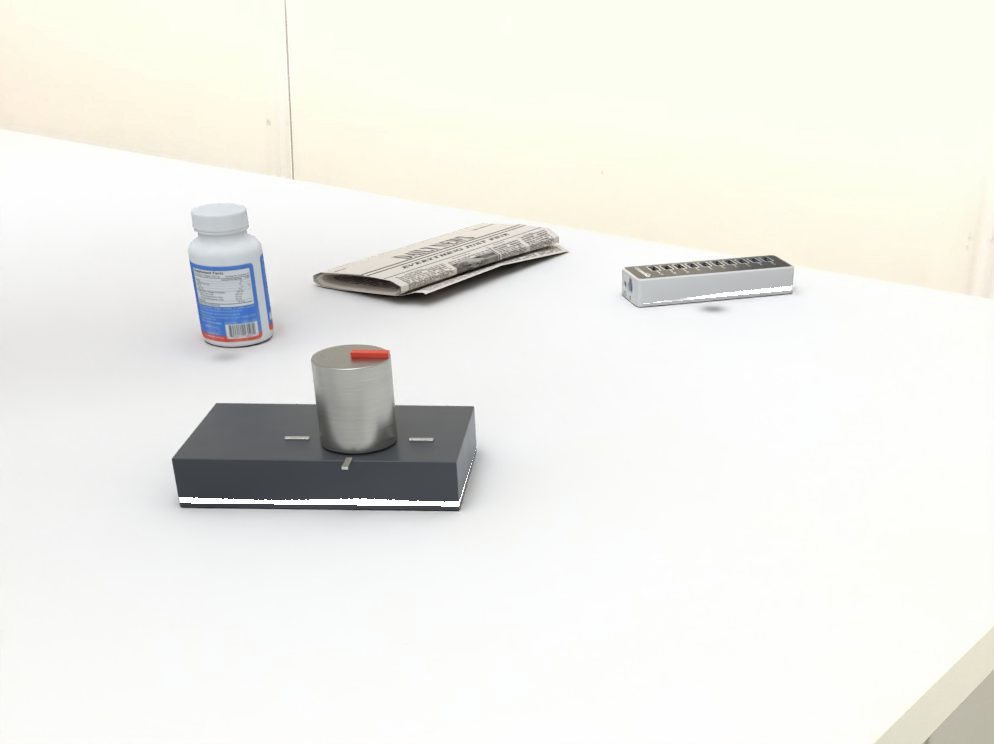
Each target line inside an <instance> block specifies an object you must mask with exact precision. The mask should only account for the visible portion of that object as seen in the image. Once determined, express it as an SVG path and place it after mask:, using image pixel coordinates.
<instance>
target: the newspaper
mask: <svg viewBox="0 0 994 744" xmlns="http://www.w3.org/2000/svg"><path fill="white" fill-rule="evenodd" d="M559 243H560V236H559V235H558V234H557V233H556V232H554V231H553V230H552V229H551V228H550V227H544V226H535V225H528V224H521V223H494V222H493V223H492V222H491V223H490V222H489V223H488V222H481V223H478V224H475V225H471V226H467V227H465V228H462V229H457V230H454V231H452V232H448V233H445V234H441V235H438V236H435V237H431V238H429V239H426V240H422V241H419V242H415V243H412V244H408V245H405V246H402V247H399V248H396V249H392V250H388V251H386V252H383V253H379V254H376V255H373V256H369V257H366V258H363V259H359V260H356V261H353V262H350V263H346V264H343V265H340V266H336V267H333V268H330V269H326V270H323V271H321V272H320V271H319V272H318V273H315V274H312V280H313V281H312V282H314V284H315V285H316V286H317V287H320V288H321V287H322V288H327V289H333V290H338V291H345V292H346V291H347V292H355V293H367V294H376V295H385V296H394V297H397V296H398V297H399V296H400V297H402V296H406V295H410V294H415V293H416V294H417V293H420V294H422V293H423V294H424V295H427V294H430V293H433V292H435V291H436V292H437V291H438V290H441V289H444V288H446V287H449V286H451V285H454V284H457V283H460V282H462V281H465V280H467V279H470V278H473V277H476V276H478V275H480V274H483V273H485V272H486V273H487V272H489V271H491V270H494V269H497V268H499V267H501V266H506V265H511V264H516V263H521V262H526V261H529V260H534V259H538V258H539V259H540V258H543V257H549V256H553V255H557V254H562V253H566V252H570V250H569V249H568V248H566V247H564V246H562V245H561V244H559ZM565 248H566V249H565Z"/></svg>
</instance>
